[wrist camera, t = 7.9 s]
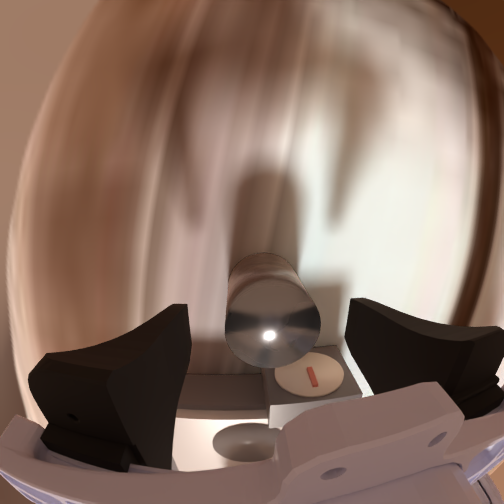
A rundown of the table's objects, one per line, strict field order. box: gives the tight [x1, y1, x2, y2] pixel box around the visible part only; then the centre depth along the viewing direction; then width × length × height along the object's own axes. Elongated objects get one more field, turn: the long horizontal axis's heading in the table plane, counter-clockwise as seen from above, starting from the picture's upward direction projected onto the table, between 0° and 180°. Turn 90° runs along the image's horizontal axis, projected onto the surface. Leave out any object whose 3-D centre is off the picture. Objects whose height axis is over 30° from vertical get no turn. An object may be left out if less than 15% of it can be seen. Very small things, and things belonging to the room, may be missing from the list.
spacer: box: [225, 253, 321, 368], centre depth 13 cm, size 4×4×5 cm
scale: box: [172, 345, 363, 472], centre depth 16 cm, size 13×15×5 cm
